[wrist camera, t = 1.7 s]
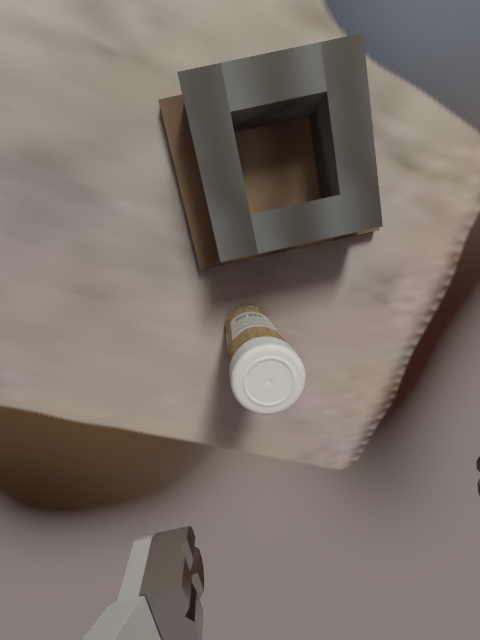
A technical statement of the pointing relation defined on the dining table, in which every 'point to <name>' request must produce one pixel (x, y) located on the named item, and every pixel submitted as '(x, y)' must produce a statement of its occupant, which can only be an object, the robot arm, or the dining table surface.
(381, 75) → the dining table surface
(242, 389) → the sprinkles bottle
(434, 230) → the dining table surface
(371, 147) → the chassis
